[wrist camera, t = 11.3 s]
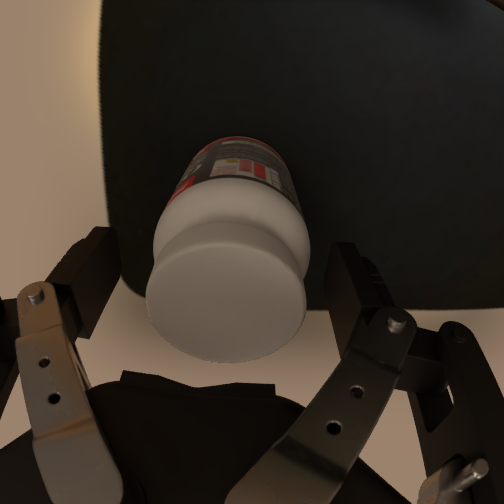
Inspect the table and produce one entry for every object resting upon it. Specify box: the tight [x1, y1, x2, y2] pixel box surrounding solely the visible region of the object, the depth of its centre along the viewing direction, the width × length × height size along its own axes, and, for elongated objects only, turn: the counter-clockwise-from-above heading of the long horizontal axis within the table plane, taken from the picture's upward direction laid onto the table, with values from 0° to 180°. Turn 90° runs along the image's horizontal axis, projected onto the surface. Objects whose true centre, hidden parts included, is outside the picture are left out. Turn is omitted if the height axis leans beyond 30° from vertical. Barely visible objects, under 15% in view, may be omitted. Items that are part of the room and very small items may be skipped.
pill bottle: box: [146, 136, 310, 363], centre depth 13 cm, size 6×6×10 cm
